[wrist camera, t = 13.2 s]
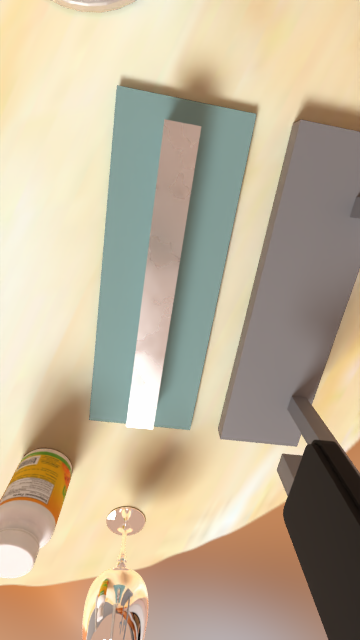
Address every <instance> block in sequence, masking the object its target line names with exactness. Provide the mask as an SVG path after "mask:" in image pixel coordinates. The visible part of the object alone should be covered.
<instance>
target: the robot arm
mask: <svg viewBox="0 0 360 640" xmlns="http://www.w3.org/2000/svg"><path fill="white" fill-rule="evenodd" d="M51 1H53V2H55V3H57V4H59V5H61V6H63V7H66V8H70V9H74V10H77V11H81V12H96V13H101V12H106V11H112V10H117V9H120V8H122V7H124V6H126V5H128V4H131V3H133V2H135V1H136V0H51ZM283 516H284V521H285V524H286V527H287V529H288V532H289V535H290V538H291V540H292V543H293V546H294V548H295V551H296V554H297V556H298V559H299V562H300V564H301V567H302V570H303V572H304V575H305V578H306V580H307V583H308V586H309V589H310V591H311V594H312V596H313V599H314V602H315V605H316V607H317V610H318V613H319V615H320V618H321V621H322V623H323V626H324V629H325V631H326V634H327V637H328V640H360V476H359V475H358V473H357V472H356V470H355V469H354V468H353V466H352V465H351V463H350V462H349V460H348V459H347V457H346V456H345V455H344V453H343V452H342V450H341V449H340V447H339V446H338V445H337V443H336V442H334V441H326V440H313V441H312V443H311V444H308V445H307V446H306V448H305V451H304V453H303V456H302V459H301V462H300V464H299V467H298V470H297V473H296V476H295V478H294V481H293V484H292V487H291V489H290V492H289V495H288V498H287V500H286V503H285V506H284V510H283Z"/></svg>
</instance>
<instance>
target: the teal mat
mask: <svg viewBox="0 0 360 640" xmlns="http://www.w3.org/2000/svg"><path fill="white" fill-rule="evenodd" d="M164 119H166V120H171V121H176V122H181V123H186V124H192V125H197V126H201V132H200V138H199V145H198V151H197V157H196V163H195V170H194V176H193V182H192V189H191V195H190V201H189V207H188V214H187V220H186V226H185V232H184V239H183V245H182V251H181V258H180V264H179V270H178V276H177V283H176V289H175V295H174V302H173V308H172V314H171V320H170V327H169V333H168V339H167V345H166V352H165V358H164V364H163V371H162V377H161V383H160V389H159V396H158V402H157V408H156V415H155V421H154V426H155V427H165V428H175V429H185V430H190V427H191V422H192V418H193V413H194V408H195V403H196V399H197V394H198V389H199V385H200V380H201V375H202V370H203V366H204V361H205V356H206V351H207V347H208V342H209V337H210V332H211V328H212V323H213V318H214V313H215V309H216V304H217V299H218V294H219V290H220V285H221V280H222V275H223V271H224V266H225V261H226V257H227V252H228V247H229V242H230V238H231V233H232V228H233V223H234V219H235V214H236V209H237V204H238V200H239V195H240V190H241V185H242V181H243V176H244V171H245V166H246V162H247V157H248V152H249V147H250V143H251V138H252V133H253V129H254V124H255V119H256V114H254V113H249V112H244V111H240V110H235V109H230V108H225V107H220V106H215V105H210V104H205V103H201V102H196V101H191V100H186V99H181V98H176V97H171V96H167V95H162V94H157V93H152V92H147V91H142V90H137V89H133V88H128V87H123V86H118V85H117V92H116V104H115V116H114V128H113V140H112V152H111V164H110V176H109V188H108V200H107V212H106V224H105V236H104V248H103V260H102V272H101V284H100V296H99V308H98V320H97V332H96V344H95V356H94V368H93V380H92V392H91V404H90V416H89V420H95V421H105V422H115V423H125V424H127V416H128V407H129V399H130V391H131V383H132V375H133V367H134V359H135V351H136V343H137V335H138V327H139V319H140V311H141V303H142V295H143V287H144V279H145V271H146V263H147V255H148V247H149V239H150V231H151V223H152V215H153V207H154V199H155V191H156V183H157V175H158V167H159V159H160V151H161V143H162V135H163V127H164Z"/></svg>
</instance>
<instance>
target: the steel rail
mask: <svg viewBox="0 0 360 640" xmlns="http://www.w3.org/2000/svg"><path fill="white" fill-rule="evenodd" d="M200 132H201V126H197V125H192V124H186V123H181V122H176V121H171V120H166V119H164V127H163V135H162V143H161V151H160V159H159V167H158V175H157V183H156V191H155V199H154V207H153V215H152V223H151V231H150V239H149V247H148V255H147V263H146V271H145V279H144V287H143V295H142V303H141V311H140V319H139V327H138V335H137V343H136V351H135V359H134V367H133V375H132V383H131V391H130V399H129V407H128V416H127V424H126V427H132V428H142V429H153V427H154V421H155V415H156V408H157V402H158V396H159V389H160V383H161V377H162V371H163V364H164V358H165V352H166V345H167V339H168V333H169V327H170V320H171V314H172V308H173V302H174V295H175V289H176V283H177V276H178V270H179V264H180V258H181V251H182V245H183V239H184V232H185V226H186V220H187V214H188V207H189V201H190V195H191V189H192V182H193V176H194V170H195V163H196V157H197V151H198V145H199V138H200Z"/></svg>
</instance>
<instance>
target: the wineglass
mask: <svg viewBox="0 0 360 640" xmlns="http://www.w3.org/2000/svg"><path fill="white" fill-rule="evenodd" d="M106 523H107V526H108V528H109V529H110V530H111V531H112V532H113V533H115V534H118V535H122V543H121V549H120V553H119V556H118V559H117V567H115V568H111V569H108V570H106V571H104V572H102V573H101V574H100V575H99V576H98V577H97V578H96V579H95V580H94V582H93V583H92V585H91V587H90V589H89V592H88V595H87V597H86V602H85V606H84V613H83V625H82V640H144V636H145V631H146V625H147V618H148V593H147V588H146V585H145V583H144V581H143V579H142V578H141V576H140V575H139V574H138V573H137V572H135V571H133V570H131V569H129V568H125V566H126V562H127V560H126V552H125V544H126V536H128V535H133V534H136V533H138V532H139V531H141V530H142V529H143V527H144V525H145V517H144V515H143V514H142V513H141V512H140V511H139V510H137V509H135V508H131V507H121V508H117V509H115V510H113V511H112V512H110V514H109V515H108V517H107V520H106Z"/></svg>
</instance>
